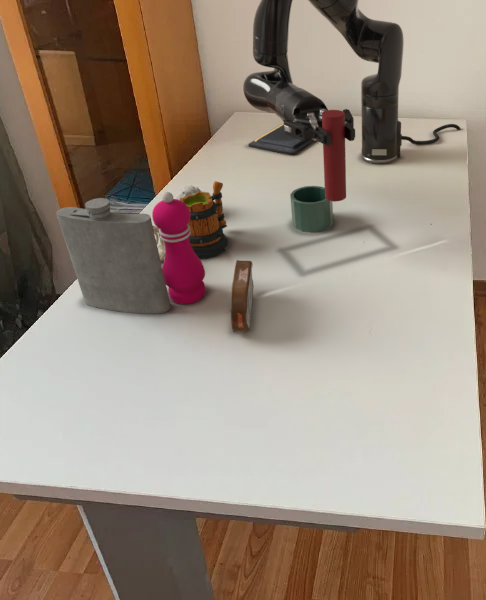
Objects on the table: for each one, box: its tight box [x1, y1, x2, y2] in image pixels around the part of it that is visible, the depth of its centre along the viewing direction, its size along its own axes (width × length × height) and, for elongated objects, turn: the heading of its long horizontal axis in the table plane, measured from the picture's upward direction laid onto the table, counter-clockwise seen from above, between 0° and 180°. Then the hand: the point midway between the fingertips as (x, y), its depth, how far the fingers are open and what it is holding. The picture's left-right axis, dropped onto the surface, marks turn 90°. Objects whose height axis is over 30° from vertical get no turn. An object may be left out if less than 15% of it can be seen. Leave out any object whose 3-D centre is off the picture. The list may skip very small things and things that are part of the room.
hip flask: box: [55, 197, 172, 314], centre depth 103 cm, size 16×4×20 cm, turn 79°
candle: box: [322, 109, 347, 202], centre depth 114 cm, size 4×4×16 cm
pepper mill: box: [151, 191, 207, 305], centre depth 106 cm, size 7×7×20 cm
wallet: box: [248, 123, 316, 156], centre depth 175 cm, size 20×2×15 cm
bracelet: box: [152, 224, 165, 262], centre depth 118 cm, size 4×8×8 cm, turn 151°
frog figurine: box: [176, 185, 202, 200], centre depth 135 cm, size 6×7×7 cm
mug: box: [180, 180, 229, 260], centre depth 124 cm, size 13×10×12 cm
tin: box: [230, 259, 254, 333], centre depth 104 cm, size 15×3×8 cm, turn 5°
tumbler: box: [289, 185, 334, 233], centre depth 132 cm, size 9×9×7 cm
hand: (340, 137), depth 110 cm, fingers closed on candle, 4 cm apart
